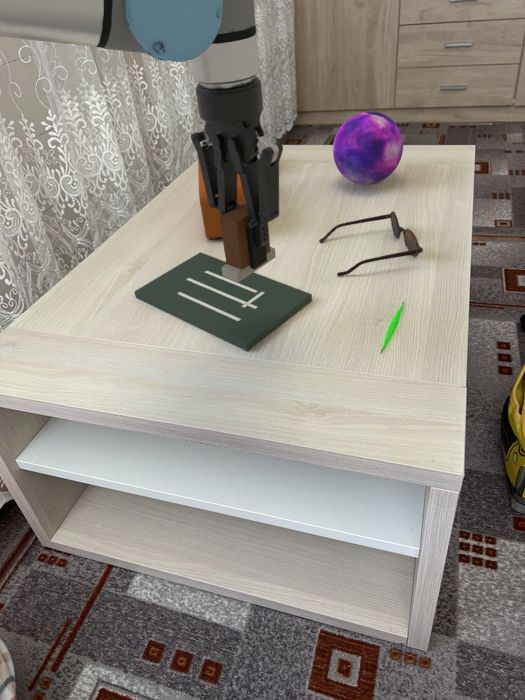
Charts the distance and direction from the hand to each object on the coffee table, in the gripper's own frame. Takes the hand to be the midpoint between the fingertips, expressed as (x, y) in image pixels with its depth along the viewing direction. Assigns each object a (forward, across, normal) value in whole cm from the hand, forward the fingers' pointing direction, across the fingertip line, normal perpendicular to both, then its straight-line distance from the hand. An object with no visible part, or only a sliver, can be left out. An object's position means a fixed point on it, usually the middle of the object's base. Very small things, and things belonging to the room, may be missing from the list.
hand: (248, 260), depth 77 cm
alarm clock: (+13, +33, -27) cm, 44 cm away
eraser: (+1, 0, 0) cm, 1 cm away
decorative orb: (+13, +16, -56) cm, 60 cm away
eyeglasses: (+13, -1, -29) cm, 32 cm away
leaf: (+13, -16, -12) cm, 24 cm away
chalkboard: (+12, +11, -3) cm, 17 cm away
